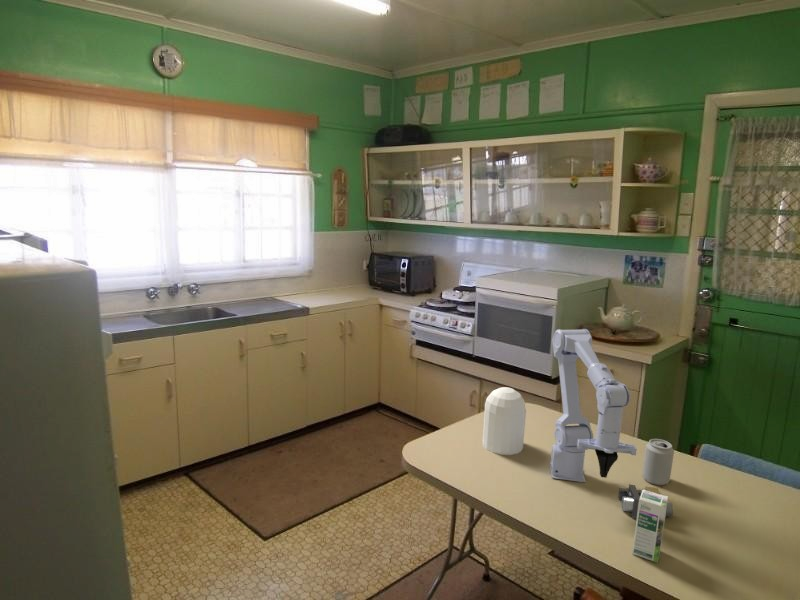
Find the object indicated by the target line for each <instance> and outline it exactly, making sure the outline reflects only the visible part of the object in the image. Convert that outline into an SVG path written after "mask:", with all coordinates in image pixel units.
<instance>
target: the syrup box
mask: <svg viewBox="0 0 800 600" xmlns="http://www.w3.org/2000/svg"><path fill="white" fill-rule="evenodd" d="M668 499H669V496H668V495H662V494H661V493H660V494H656V493H653V492H650V491H646V490H645V489H642V493H641V496H640V499H639V504H638V512H637V519H636V523H635V529H634V530H635V531H634V537H633V538H634V539H633V545H632V550H631V554H632V555H633V556H637V557H640V558H644V559H646V560H649V561H651V562H654V563H659V562H658V561H659V559H660V553H661V549H662V542H663V535H664V527H665V522H666V516H665V515H666V508H667V502H669V501H668Z"/></svg>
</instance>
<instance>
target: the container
mask: <svg viewBox="0 0 800 600" xmlns="http://www.w3.org/2000/svg"><path fill="white" fill-rule="evenodd" d="M526 417H527V408H526V402H525V400H524V398H523V396H522V394H521V393H520V392H519V391H517V390H515V389H514V388H511V387H507V386H503V387H502V386H501V387H498V388H497V389H494V390H492V391H491V392H490V394H489V395H488V396H487V397H486V400H485V402H484V415H483V427H482V428H483V432H482V446H483V448H484V449H486V450H487V451H489V452H492V453H493V454H497V455H502V456H503V455H504V456H510V455H511V456H512V455H517V454H519V453H521V452H522V451H523V449H524V441H525V440H524V439H525V429H526V427H525V426H526Z"/></svg>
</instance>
